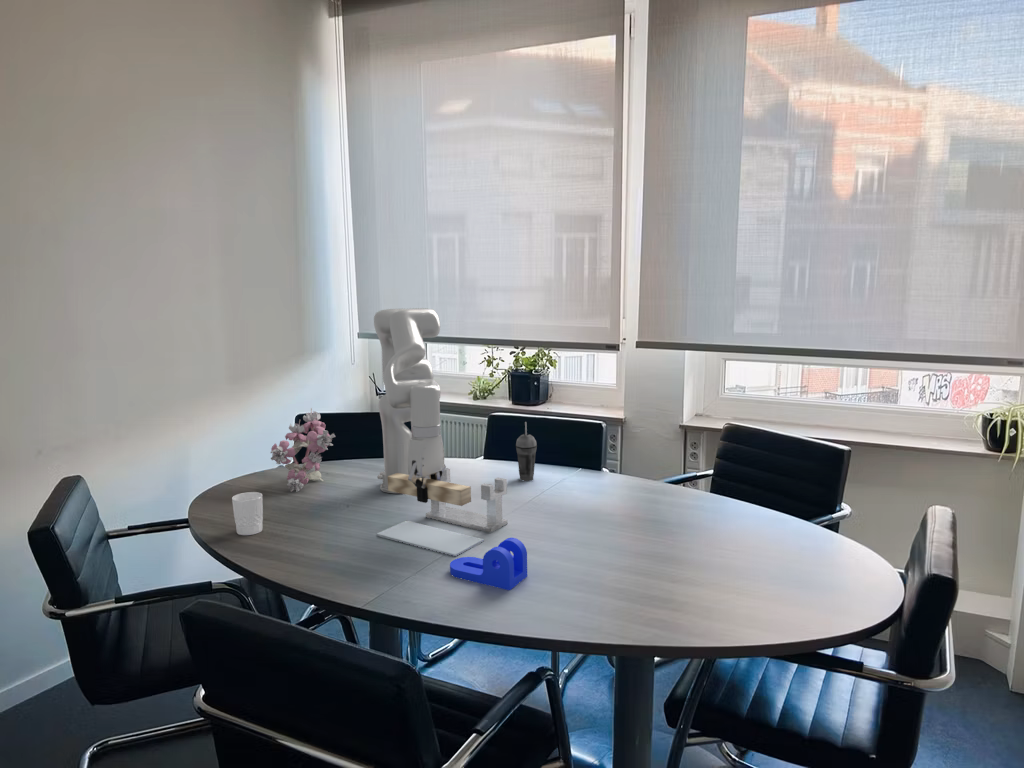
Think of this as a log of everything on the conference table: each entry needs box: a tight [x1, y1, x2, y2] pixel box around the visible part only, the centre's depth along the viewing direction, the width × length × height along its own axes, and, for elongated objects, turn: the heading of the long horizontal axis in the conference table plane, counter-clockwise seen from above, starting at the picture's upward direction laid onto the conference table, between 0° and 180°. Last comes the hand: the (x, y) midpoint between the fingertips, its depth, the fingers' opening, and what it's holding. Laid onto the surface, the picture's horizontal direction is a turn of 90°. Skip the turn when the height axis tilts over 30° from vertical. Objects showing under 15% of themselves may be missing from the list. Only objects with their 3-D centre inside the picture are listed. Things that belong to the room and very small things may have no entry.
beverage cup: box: [515, 421, 538, 482], centre depth 244 cm, size 7×7×20 cm
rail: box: [388, 473, 472, 507], centre depth 191 cm, size 25×4×4 cm, turn 56°
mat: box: [376, 520, 485, 557], centre depth 193 cm, size 27×12×1 cm, turn 56°
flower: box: [270, 407, 336, 493], centre depth 241 cm, size 20×22×25 cm
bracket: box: [449, 537, 528, 591], centre depth 169 cm, size 18×8×9 cm, turn 61°
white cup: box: [231, 491, 264, 536], centre depth 200 cm, size 8×8×10 cm
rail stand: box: [425, 467, 508, 533], centre depth 205 cm, size 23×8×13 cm, turn 56°
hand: (428, 498), depth 191 cm, fingers closed on rail, 4 cm apart
